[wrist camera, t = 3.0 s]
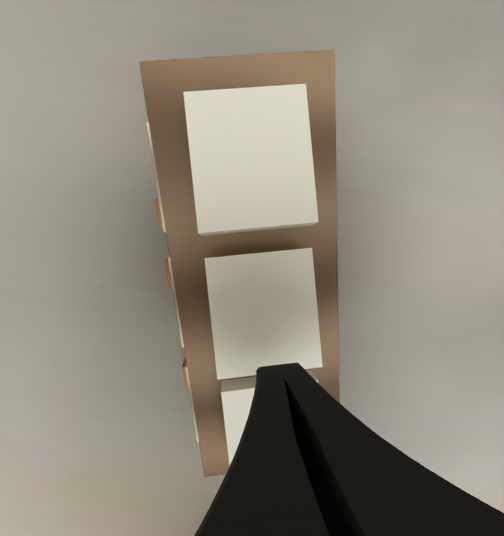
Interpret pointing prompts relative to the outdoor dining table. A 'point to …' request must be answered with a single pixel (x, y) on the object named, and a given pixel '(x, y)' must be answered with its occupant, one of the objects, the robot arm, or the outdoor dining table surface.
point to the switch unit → (199, 247)
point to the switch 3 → (238, 408)
